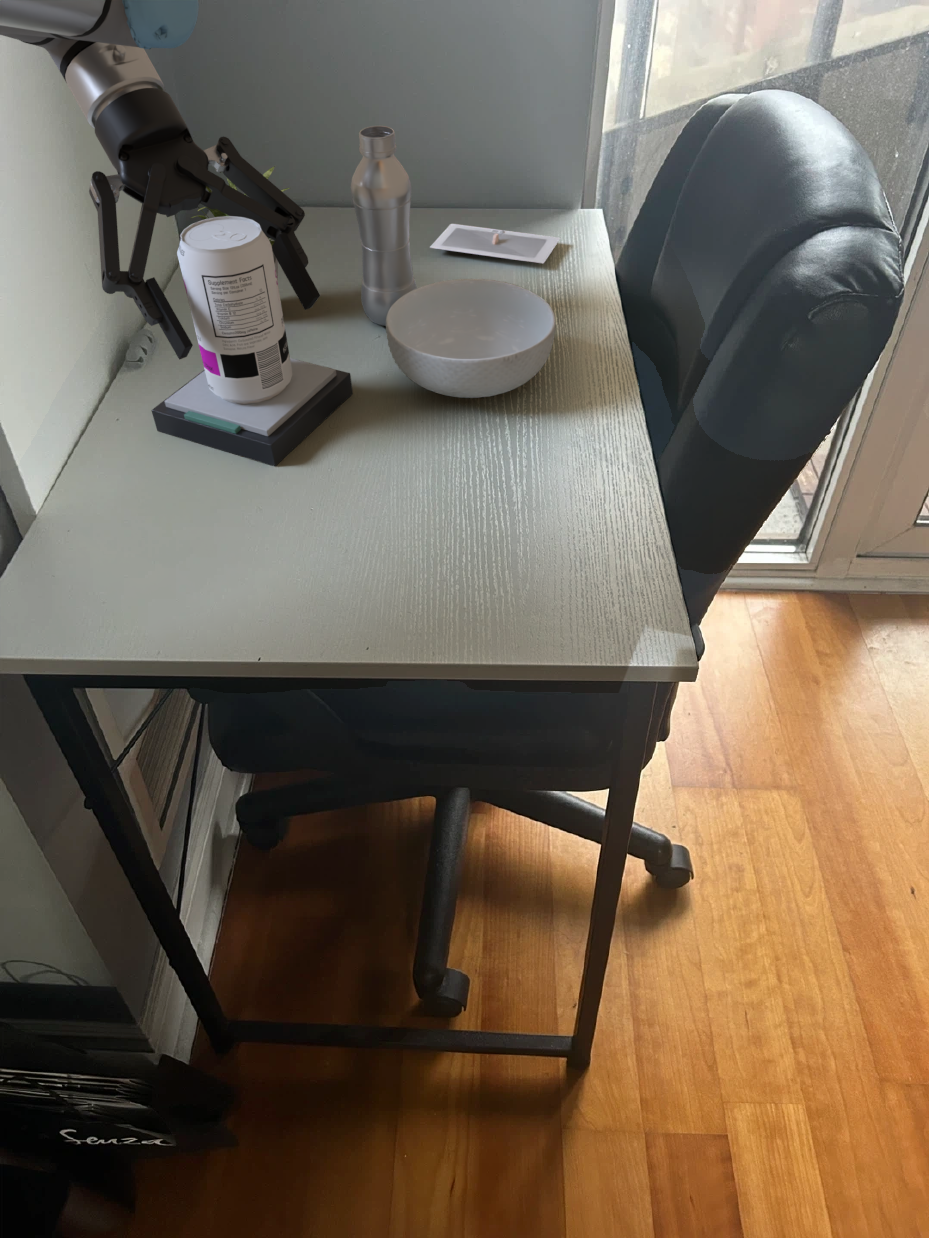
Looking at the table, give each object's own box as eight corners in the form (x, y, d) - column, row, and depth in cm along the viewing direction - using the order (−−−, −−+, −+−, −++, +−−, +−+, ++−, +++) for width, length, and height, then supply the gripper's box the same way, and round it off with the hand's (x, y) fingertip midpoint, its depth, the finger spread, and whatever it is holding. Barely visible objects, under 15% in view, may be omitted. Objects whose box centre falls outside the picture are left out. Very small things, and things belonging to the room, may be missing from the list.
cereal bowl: (399, 431, 92) (394, 366, 87) (383, 347, 104) (377, 285, 99) (569, 413, 94) (573, 348, 88) (534, 332, 105) (536, 271, 100)
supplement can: (192, 398, 91) (154, 244, 80) (238, 357, 96) (207, 208, 86) (265, 414, 89) (235, 258, 78) (308, 371, 94) (285, 220, 83)
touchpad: (543, 272, 116) (543, 254, 114) (429, 256, 120) (429, 239, 118) (560, 246, 121) (561, 229, 120) (451, 232, 125) (450, 215, 123)
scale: (275, 466, 88) (269, 438, 86) (157, 431, 93) (149, 403, 90) (352, 393, 97) (349, 366, 95) (241, 364, 101) (236, 338, 99)
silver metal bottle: (365, 335, 105) (346, 146, 91) (361, 307, 110) (342, 123, 96) (422, 330, 106) (412, 141, 92) (415, 302, 111) (405, 119, 97)
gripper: (-6, 118, 75) (133, 359, 77) (260, 55, 86) (374, 266, 89) (-8, 170, 81) (121, 390, 84) (240, 105, 93) (346, 301, 95)
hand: (251, 327), depth 86 cm, fingers open, 13 cm apart
